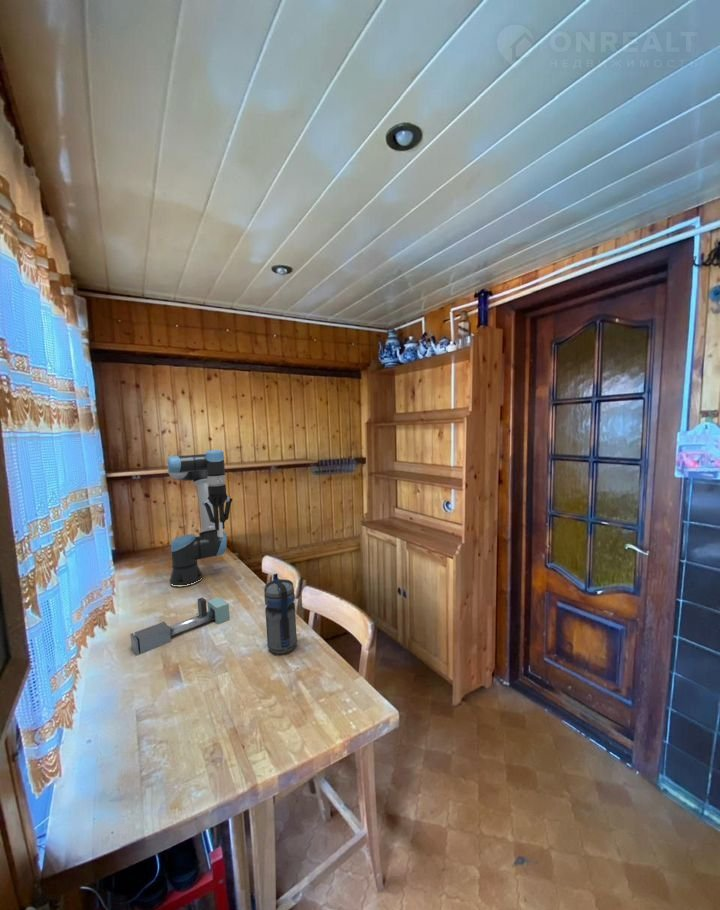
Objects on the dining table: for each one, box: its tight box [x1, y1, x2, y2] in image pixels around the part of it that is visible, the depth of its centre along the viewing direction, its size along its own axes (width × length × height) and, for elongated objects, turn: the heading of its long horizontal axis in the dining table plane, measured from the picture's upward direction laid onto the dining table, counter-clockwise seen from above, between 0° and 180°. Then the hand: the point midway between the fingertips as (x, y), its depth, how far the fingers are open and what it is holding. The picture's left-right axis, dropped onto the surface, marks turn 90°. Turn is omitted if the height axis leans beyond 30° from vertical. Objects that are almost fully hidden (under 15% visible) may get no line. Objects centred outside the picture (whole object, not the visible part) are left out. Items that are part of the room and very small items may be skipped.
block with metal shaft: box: [168, 597, 215, 637], centre depth 146 cm, size 22×4×10 cm, turn 134°
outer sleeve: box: [129, 621, 172, 656], centre depth 136 cm, size 11×7×5 cm, turn 134°
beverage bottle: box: [263, 573, 298, 655], centre depth 130 cm, size 10×13×25 cm
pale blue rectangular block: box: [206, 596, 231, 625], centre depth 153 cm, size 5×9×7 cm, turn 44°
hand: (220, 536), depth 168 cm, fingers closed
